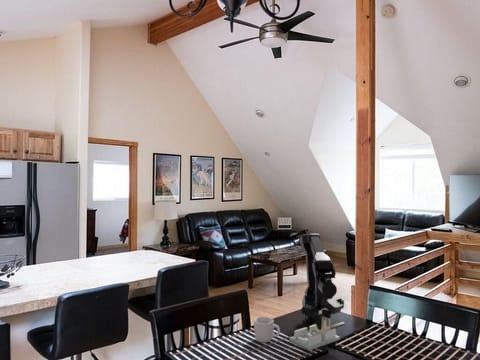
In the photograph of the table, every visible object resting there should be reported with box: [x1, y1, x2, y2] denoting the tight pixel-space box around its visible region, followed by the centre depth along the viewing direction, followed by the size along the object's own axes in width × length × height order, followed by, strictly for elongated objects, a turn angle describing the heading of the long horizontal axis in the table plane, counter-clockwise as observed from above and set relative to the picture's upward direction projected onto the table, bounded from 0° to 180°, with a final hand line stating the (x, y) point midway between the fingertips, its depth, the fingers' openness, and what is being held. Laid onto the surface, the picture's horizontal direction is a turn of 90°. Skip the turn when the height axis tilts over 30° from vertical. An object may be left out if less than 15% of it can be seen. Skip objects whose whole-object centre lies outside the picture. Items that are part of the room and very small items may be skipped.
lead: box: [330, 321, 345, 329], centre depth 168 cm, size 8×1×1 cm, turn 126°
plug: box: [314, 316, 331, 335], centre depth 154 cm, size 6×3×6 cm, turn 36°
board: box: [289, 324, 341, 351], centre depth 153 cm, size 11×17×4 cm, turn 126°
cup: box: [253, 316, 281, 343], centre depth 152 cm, size 11×8×8 cm
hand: (322, 328), depth 155 cm, fingers closed on plug, 3 cm apart
